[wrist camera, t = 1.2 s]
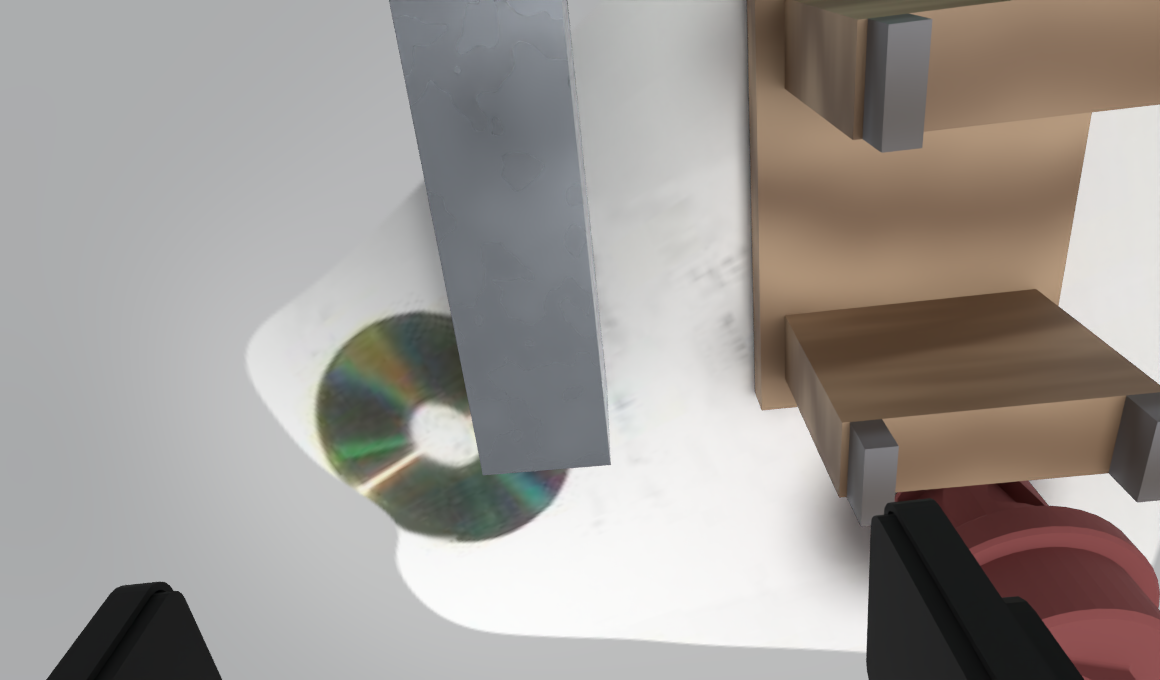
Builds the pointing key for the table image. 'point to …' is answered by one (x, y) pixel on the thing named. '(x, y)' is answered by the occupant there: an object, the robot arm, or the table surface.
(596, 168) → the table surface
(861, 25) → the rack
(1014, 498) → the mechanical component
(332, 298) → the table surface
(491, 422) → the matte grey brick
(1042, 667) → the robot arm
